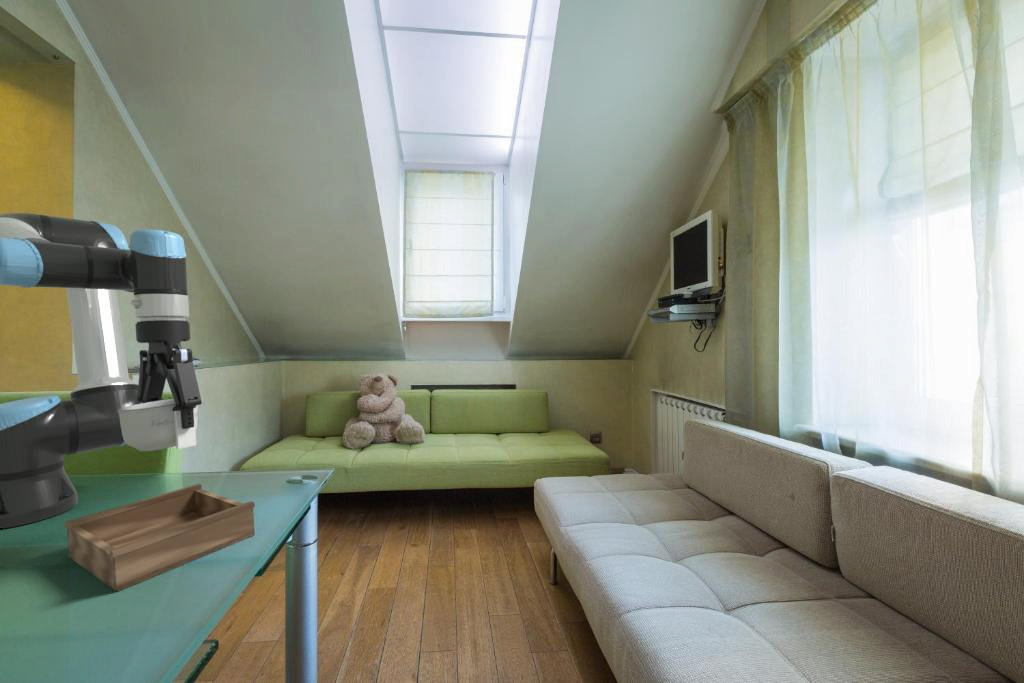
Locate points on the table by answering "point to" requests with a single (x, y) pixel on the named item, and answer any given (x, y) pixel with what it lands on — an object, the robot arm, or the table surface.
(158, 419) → the teacup
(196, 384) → the robot arm
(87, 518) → the crate
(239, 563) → the table surface
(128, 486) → the table surface
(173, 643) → the table surface
